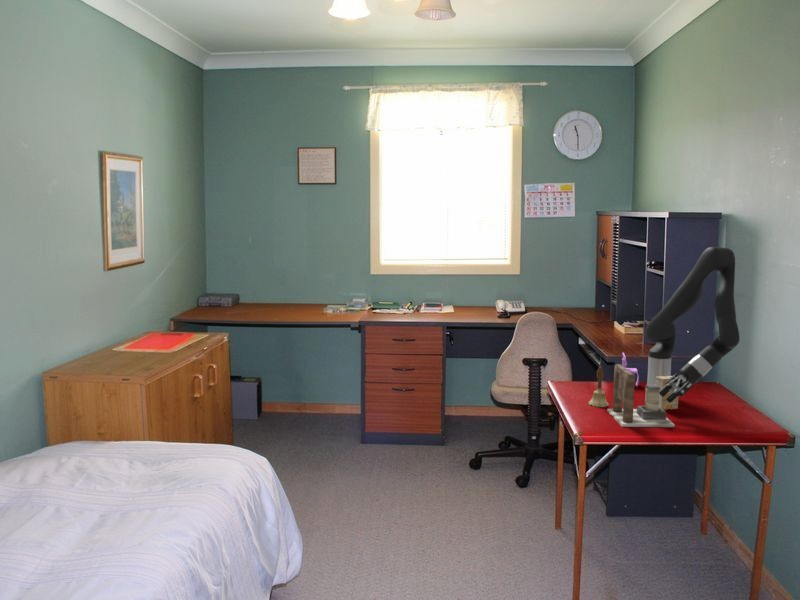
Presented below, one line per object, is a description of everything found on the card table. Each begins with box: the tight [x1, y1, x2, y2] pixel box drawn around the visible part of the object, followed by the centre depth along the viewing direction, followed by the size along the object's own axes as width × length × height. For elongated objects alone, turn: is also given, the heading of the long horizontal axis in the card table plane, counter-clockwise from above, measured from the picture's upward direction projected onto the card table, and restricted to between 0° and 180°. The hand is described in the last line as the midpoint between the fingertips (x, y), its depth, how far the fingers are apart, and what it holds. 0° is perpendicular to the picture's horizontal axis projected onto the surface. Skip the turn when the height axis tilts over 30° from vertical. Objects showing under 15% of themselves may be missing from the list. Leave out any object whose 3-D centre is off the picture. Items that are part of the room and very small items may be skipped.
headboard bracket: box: [607, 363, 675, 428], centre depth 279 cm, size 20×20×19 cm
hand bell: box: [587, 366, 610, 408], centre depth 299 cm, size 8×8×16 cm
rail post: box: [644, 384, 660, 411], centre depth 279 cm, size 4×4×12 cm
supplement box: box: [656, 375, 679, 411], centre depth 294 cm, size 8×5×13 cm, turn 106°
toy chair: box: [621, 352, 640, 388], centre depth 332 cm, size 8×9×15 cm
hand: (664, 398), depth 279 cm, fingers open, 8 cm apart
